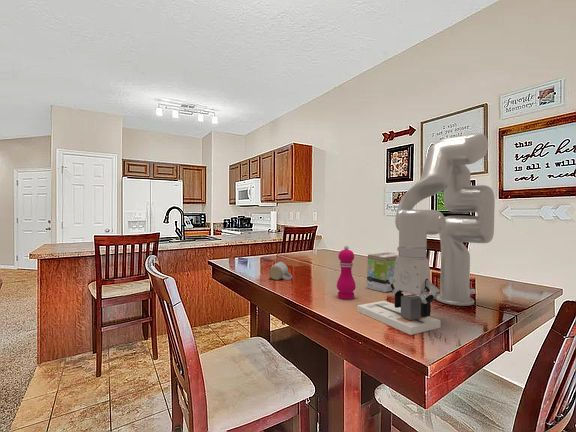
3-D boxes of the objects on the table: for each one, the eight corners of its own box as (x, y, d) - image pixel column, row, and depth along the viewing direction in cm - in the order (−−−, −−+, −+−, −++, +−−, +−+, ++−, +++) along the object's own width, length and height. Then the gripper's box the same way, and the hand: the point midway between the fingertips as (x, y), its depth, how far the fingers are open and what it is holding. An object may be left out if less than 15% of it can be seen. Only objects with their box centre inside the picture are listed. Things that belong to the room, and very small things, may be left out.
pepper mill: (355, 300, 116) (356, 246, 116) (336, 299, 117) (336, 246, 117) (355, 295, 123) (355, 244, 123) (336, 294, 124) (337, 244, 124)
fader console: (384, 306, 109) (384, 300, 109) (440, 327, 90) (440, 320, 90) (357, 311, 104) (357, 305, 104) (410, 335, 84) (410, 327, 84)
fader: (412, 314, 94) (412, 293, 94) (422, 317, 91) (422, 296, 91) (400, 316, 92) (400, 296, 92) (410, 320, 89) (410, 299, 88)
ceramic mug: (267, 280, 149) (268, 264, 149) (273, 276, 157) (273, 261, 157) (289, 282, 146) (289, 265, 146) (293, 278, 154) (294, 262, 154)
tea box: (386, 293, 127) (387, 257, 126) (366, 288, 134) (366, 254, 134) (406, 287, 136) (407, 253, 136) (386, 283, 144) (386, 251, 144)
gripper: (381, 250, 97) (380, 305, 97) (429, 257, 81) (428, 323, 82) (398, 248, 100) (398, 302, 101) (448, 256, 85) (447, 318, 85)
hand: (411, 311), depth 91 cm, fingers open, 9 cm apart
